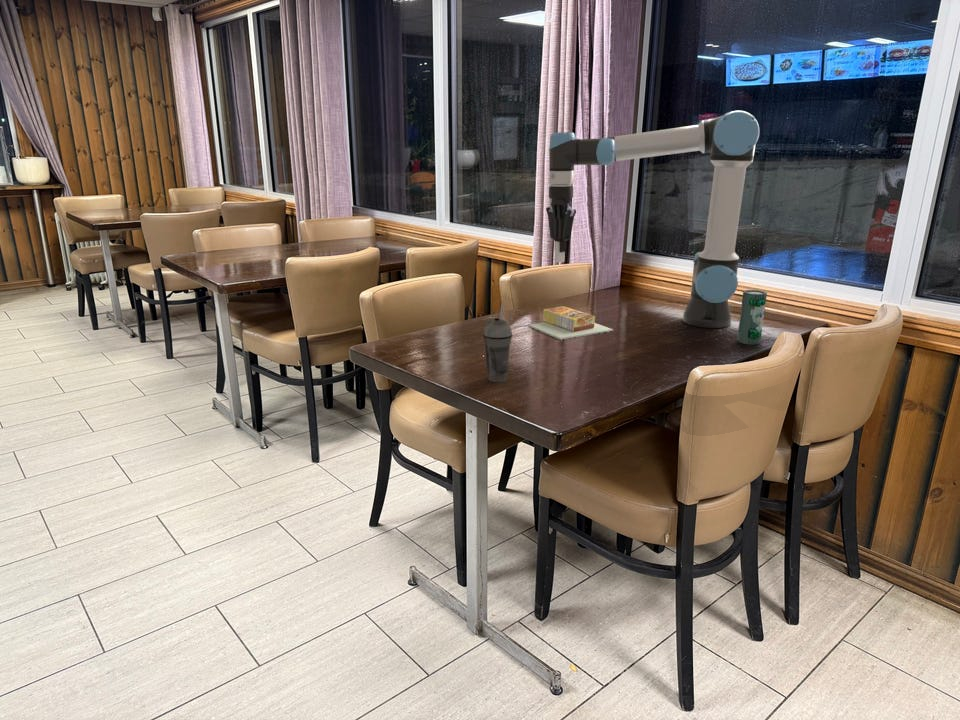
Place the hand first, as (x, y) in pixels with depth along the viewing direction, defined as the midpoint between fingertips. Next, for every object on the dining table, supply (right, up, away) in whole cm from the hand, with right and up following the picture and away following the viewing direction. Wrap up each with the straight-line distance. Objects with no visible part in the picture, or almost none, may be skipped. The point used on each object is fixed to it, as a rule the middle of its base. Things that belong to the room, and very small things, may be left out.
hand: (559, 261), depth 211 cm
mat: (+3, -21, 0) cm, 22 cm away
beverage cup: (-21, -36, -44) cm, 61 cm away
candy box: (-1, -16, +8) cm, 18 cm away
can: (+55, -26, -14) cm, 62 cm away
